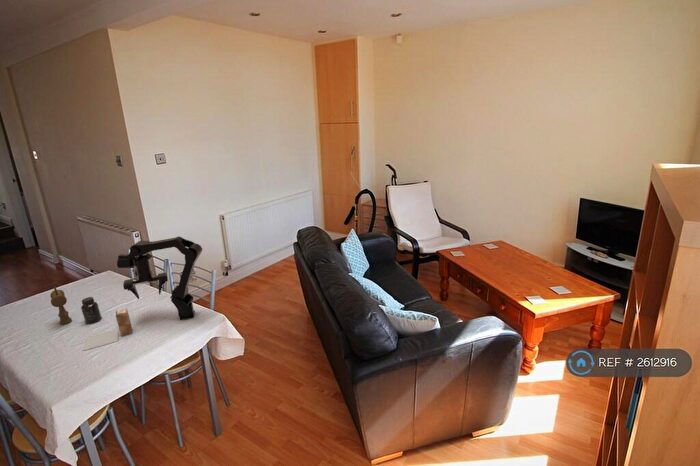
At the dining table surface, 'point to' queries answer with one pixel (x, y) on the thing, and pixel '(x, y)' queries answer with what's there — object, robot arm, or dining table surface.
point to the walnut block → (124, 322)
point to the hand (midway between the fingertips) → (149, 296)
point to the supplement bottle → (90, 310)
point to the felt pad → (101, 339)
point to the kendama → (60, 305)
